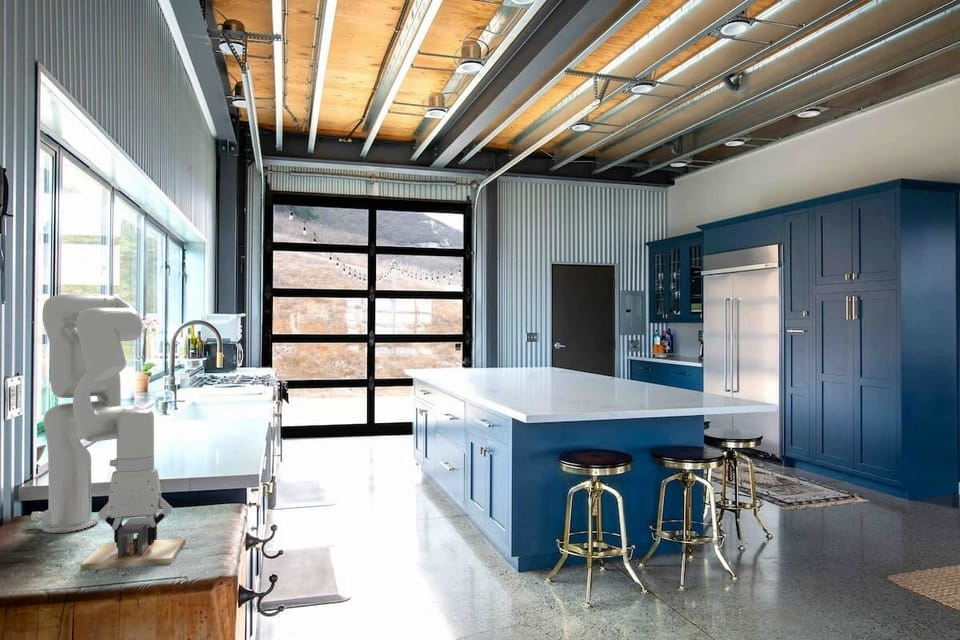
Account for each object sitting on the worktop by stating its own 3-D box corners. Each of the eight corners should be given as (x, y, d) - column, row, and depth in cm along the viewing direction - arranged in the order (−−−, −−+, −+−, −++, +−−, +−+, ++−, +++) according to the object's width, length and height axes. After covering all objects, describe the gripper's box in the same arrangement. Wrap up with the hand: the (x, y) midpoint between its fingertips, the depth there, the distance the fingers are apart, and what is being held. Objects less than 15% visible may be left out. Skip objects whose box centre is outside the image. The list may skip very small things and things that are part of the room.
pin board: (80, 570, 145) (80, 552, 145) (102, 548, 159) (102, 532, 159) (171, 563, 149) (171, 546, 149) (185, 543, 163) (185, 527, 163)
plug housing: (118, 557, 149) (117, 530, 149) (130, 544, 158) (129, 518, 158) (141, 555, 150) (141, 528, 150) (152, 542, 159) (152, 517, 159)
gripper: (87, 469, 149) (88, 553, 149) (172, 465, 152) (172, 547, 152) (99, 462, 156) (99, 542, 156) (180, 459, 159) (180, 536, 159)
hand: (135, 543), depth 154 cm, fingers open, 5 cm apart
